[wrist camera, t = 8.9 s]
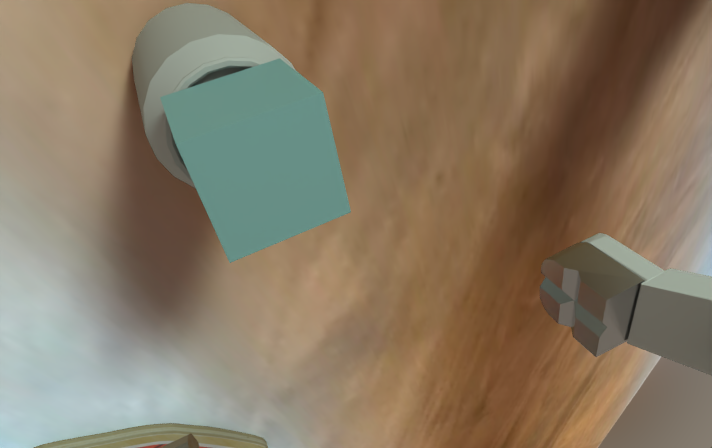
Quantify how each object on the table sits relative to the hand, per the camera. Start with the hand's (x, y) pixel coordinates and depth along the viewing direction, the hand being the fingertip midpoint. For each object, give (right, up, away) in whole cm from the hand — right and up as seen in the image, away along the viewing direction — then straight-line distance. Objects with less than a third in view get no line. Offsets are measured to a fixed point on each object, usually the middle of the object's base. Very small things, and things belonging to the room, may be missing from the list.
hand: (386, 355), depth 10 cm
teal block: (-6, +7, +11) cm, 14 cm away
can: (-11, +13, +20) cm, 26 cm away
